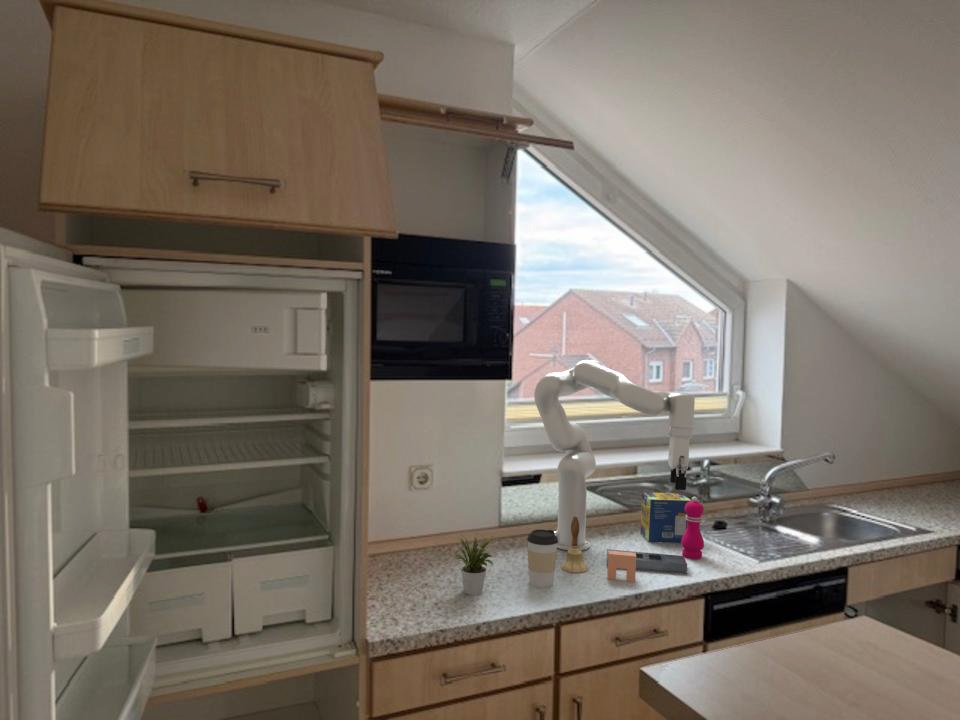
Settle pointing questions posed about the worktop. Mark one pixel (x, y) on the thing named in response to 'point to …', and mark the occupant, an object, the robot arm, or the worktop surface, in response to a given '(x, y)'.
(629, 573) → the peach arch block
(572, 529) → the hand bell
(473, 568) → the house plant
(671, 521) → the protein box
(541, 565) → the coffee cup
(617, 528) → the worktop surface
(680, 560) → the rail
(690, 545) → the pepper mill
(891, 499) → the worktop surface
